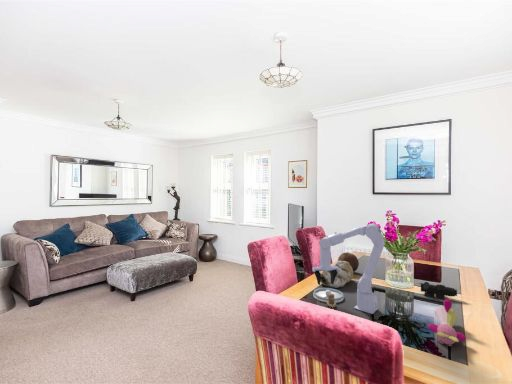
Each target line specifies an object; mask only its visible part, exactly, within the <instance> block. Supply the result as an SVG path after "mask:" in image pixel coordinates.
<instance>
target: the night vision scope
mask: <svg viewBox="0 0 512 384" xmlns="http://www.w3.org/2000/svg"><path fill="white" fill-rule="evenodd" d="M419 285H420V292H422V293H423V292H424V297H428V296H429V298H437V299H443V300H444V299H445V297H458V290H457V289H455V288H452V287H449V286H445V285H444V284H436V285H435V284H430V282H428V281H425V282H420V283H419Z"/></svg>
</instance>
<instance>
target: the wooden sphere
mask: <svg viewBox="0 0 512 384" xmlns="http://www.w3.org/2000/svg"><path fill="white" fill-rule="evenodd" d="M338 261H346V262H348V263H349V264H350V265H351V267H352V269H353V273H355V272H356V271H357V270H358V269H359V266H360V265H359V264H360V263H359V259H358V257H357V256H356V255H355V254H354V253H352V252H347V251H346V252H343V253H341V254H340V255H339V256H338V258H337V262H338Z"/></svg>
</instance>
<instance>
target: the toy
mask: <svg viewBox="0 0 512 384" xmlns="http://www.w3.org/2000/svg"><path fill="white" fill-rule="evenodd" d="M452 305H453V303H452V300H451V299H444V301H443V305H439V306H437V308H435V311H434V316H435V318H436V319H437V321H438V322H439V325H437V324H435V323H430V324H429V325H428V329H429V330H430V331H432V332H433V333H435V334H436V336H437V338H438V342H439V343H440V344H441V345H444V344H445V345H446V346H449V347H452V346H453V344H455V343H459V342H464V341H466V340H467V339H466V338H467V337H466V335H465V334H463V332H460V331H459V332H458V331H456V330H455V328H454V325H455V324H456V322H457V320H458V315H457V313H456V311H455V309H453V308H451V307H452Z"/></svg>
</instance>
